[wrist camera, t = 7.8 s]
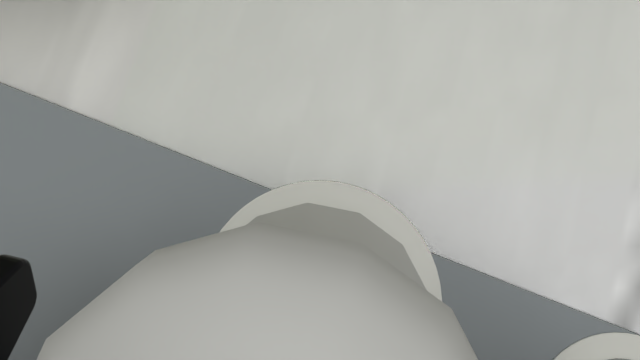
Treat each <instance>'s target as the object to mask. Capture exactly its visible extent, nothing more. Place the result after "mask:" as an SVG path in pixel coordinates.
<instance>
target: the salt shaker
mask: <svg viewBox="0 0 640 360" xmlns="http://www.w3.org/2000/svg"><path fill="white" fill-rule="evenodd" d="M37 360H478V358H477V356H476V355H475V353H474V351H473V349H472V347H471V345H470V343H469V341H468V339H467V337H466V335H465V333H464V332H463V330H462V328H461V326H460V324H459V322H458V320H457V318H456V316H455V314H454V312H453V310H452V309H451V308H450V307H449V306H447V305H446V304H445V303H443V302H442V301H440V300H439V299H438V298H436V297H435V296H434V295H432V294H431V293H430V292H428V291H427V290H426V288H425V286H424V284H423V282H422V280H421V278H420V276H419V275H418V273H417V271H416V269H415V267H414V265H413V263H412V261H411V259H410V258H409V256H408V254H407V252H406V250H405V248H404V246H403V244H401V243H400V242H398V241H397V240H396V239H394V238H393V237H392V236H390V235H389V234H388V233H386V232H385V231H384V230H382V229H381V228H380V227H378V226H377V225H375V224H374V223H373V222H371V221H370V220H369V219H367V218H366V217H365V216H363V215H362V214H361V213H358V212H353V211H348V210H343V209H338V208H333V207H328V206H323V205H318V204H313V203H308V202H307V203H303V204H300V205H296V206H292V207H289V208H285V209H281V210H278V211H274V212H270V213H267V214H263V215H259V216H257V217H255V218H254V219H253V220H252V221H251V222H249V223H248V224H247V225H245V226H241V227H238V228H234V229H230V230H227V231H223V232H219V233H216V234H212V235H209V236H205V237H201V238H198V239H194V240H191V241H187V242H183V243H180V244H176V245H172V246H169V247H165V248H162V249H158V250H155V251H154V252H152V253H151V254H150V255H148V256H147V257H146V258H144V259H143V260H142V261H140V262H139V263H138V264H136V265H135V266H134V267H133V268H131V269H130V270H129V271H128V272H127V273H125V274H124V275H123V276H122V277H121V278H119V279H118V280H117V281H116V282H114V283H113V284H112V285H111V286H110V287H108V288H107V289H106V290H105V291H104V292H102V293H101V294H100V295H99V296H97V297H96V298H95V299H94V300H93V301H91V302H90V303H89V304H88V305H87V306H85V307H84V308H83V309H82V310H81V311H79V312H78V313H77V314H76V315H74V316H73V317H72V318H71V319H70V320H68V321H67V322H66V323H65V324H64V325H62V326H61V327H60V328H59V329H57V330H56V331H55V332H54V333H53V334H51V335H50V336H49V337H48V338H47V339H46V340H45V342H44V344H43V347H42V349H41V351H40V353H39V355H38V358H37Z"/></svg>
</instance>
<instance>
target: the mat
mask: <svg viewBox="0 0 640 360" xmlns="http://www.w3.org/2000/svg"><path fill="white" fill-rule="evenodd" d="M307 202H308V203H313V204H318V205H323V206H328V207H333V208H338V209H343V210H348V211H353V212H358V213H361V214H362V215H363V216H365V217H366V218H367V219H369V220H370V221H371V222H373V223H374V224H375V225H377V226H378V227H380V228H381V229H382V230H384V231H385V232H386V233H388V234H389V235H390V236H392V237H393V238H394V239H396V240H397V241H398V242H400V243H401V244H403V246H404V248H405V250H406V252H407V254H408V256H409V258H410V259H411V261H412V263H413V265H414V267H415V269H416V271H417V273H418V275H419V276H420V278H421V280H422V282H423V284H424V286H425V288H426V290H427V291H428V292H430V293H431V294H432V295H434V296H435V297H436V298H438V299H439V300H440V301H442V302H443V303H445V304H446V305H447V306H449V307H450V308H451V309H452V310H453V312H454V314H455V316H456V318H457V320H458V322H459V324H460V326H461V328H462V330H463V332H464V333H465V335H466V337H467V339H468V341H469V343H470V345H471V347H472V349H473V351H474V353H475V355H476V356H477V358H478V360H607V359H617V358H619V359H630V360H640V335H638V334H636V333H633V332H631V331H628V330H626V329H623V328H621V327H618V326H616V325H613V324H611V323H608V322H606V321H603V320H600V319H598V318H595V317H593V316H590V315H588V314H585V313H583V312H580V311H578V310H575V309H573V308H570V307H567V306H565V305H562V304H560V303H557V302H555V301H552V300H550V299H547V298H545V297H542V296H540V295H537V294H535V293H532V292H529V291H527V290H524V289H522V288H519V287H517V286H514V285H512V284H509V283H507V282H504V281H502V280H499V279H497V278H494V277H491V276H489V275H486V274H484V273H481V272H479V271H476V270H474V269H471V268H469V267H466V266H464V265H461V264H458V263H456V262H453V261H451V260H448V259H446V258H443V257H441V256H438V255H436V254H433V253H431V252H430V251H429V249H428V247H427V245H426V243H425V241H424V239H423V238H422V236H421V235H420V234H419V232H418V231H417V229H416V228H415V227H414V225H413V224H412V223H411V222H410V221H409V220H408V219H407V218H406V217H405V216H404V214H402V213H401V212H400V211H399V210H398V209H396V208H395V207H394V206H393V205H392V204H390V203H389V202H387V201H386V200H384V199H382V198H381V197H379V196H378V195H376V194H374V193H371V192H369V191H367V190H365V189H363V188H360V187H356V186H353V185H350V184H346V183H341V182H335V181H321V180H315V181H303V182H297V183H292V184H288V185H284V186H281V187H279V188H276V189H273V190H271V189H268V188H266V187H263V186H261V185H258V184H256V183H253V182H251V181H248V180H246V179H243V178H240V177H238V176H235V175H233V174H230V173H228V172H225V171H223V170H220V169H218V168H215V167H213V166H210V165H208V164H205V163H202V162H200V161H197V160H195V159H192V158H190V157H187V156H185V155H182V154H180V153H177V152H175V151H172V150H170V149H167V148H164V147H162V146H159V145H157V144H154V143H152V142H149V141H147V140H144V139H142V138H139V137H137V136H134V135H131V134H129V133H126V132H124V131H121V130H119V129H116V128H114V127H111V126H109V125H106V124H104V123H101V122H99V121H96V120H93V119H91V118H88V117H86V116H83V115H81V114H78V113H76V112H73V111H71V110H68V109H66V108H63V107H61V106H58V105H55V104H53V103H50V102H48V101H45V100H43V99H40V98H38V97H35V96H33V95H30V94H28V93H25V92H23V91H20V90H17V89H15V88H12V87H10V86H7V85H5V84H2V83H0V255H3V254H6V255H11V256H15V257H19V258H23V259H26V260H28V261H29V263H30V264H31V268H32V272H33V277H34V281H35V286H36V290H37V299H36V303H35V306H34V309H33V311H32V313H31V315H30V317H29V319H28V321H27V323H26V325H25V327H24V329H23V331H22V333H21V335H20V337H19V339H18V341H17V343H16V345H15V347H14V349H13V351H12V352H11V354H10V356H9V358H8V360H37V358H38V355H39V353H40V351H41V349H42V347H43V344H44V342H45V340H46V339H47V338H48V337H49V336H50V335H51V334H53V333H54V332H55V331H56V330H57V329H59V328H60V327H61V326H62V325H64V324H65V323H66V322H67V321H68V320H70V319H71V318H72V317H73V316H74V315H76V314H77V313H78V312H79V311H81V310H82V309H83V308H84V307H85V306H87V305H88V304H89V303H90V302H91V301H93V300H94V299H95V298H96V297H97V296H99V295H100V294H101V293H102V292H104V291H105V290H106V289H107V288H108V287H110V286H111V285H112V284H113V283H114V282H116V281H117V280H118V279H119V278H121V277H122V276H123V275H124V274H125V273H127V272H128V271H129V270H130V269H131V268H133V267H134V266H135V265H136V264H138V263H139V262H140V261H142V260H143V259H144V258H146V257H147V256H148V255H150V254H151V253H152V252H154V251H155V250H158V249H162V248H165V247H169V246H172V245H176V244H180V243H183V242H187V241H191V240H194V239H198V238H201V237H205V236H209V235H212V234H216V233H219V232H223V231H227V230H230V229H234V228H238V227H241V226H245V225H247V224H248V223H249V222H251V221H252V220H253V219H254V218H255V217H257V216H259V215H263V214H267V213H270V212H274V211H278V210H281V209H285V208H289V207H292V206H296V205H300V204H303V203H307Z"/></svg>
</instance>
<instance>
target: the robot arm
mask: <svg viewBox="0 0 640 360" xmlns="http://www.w3.org/2000/svg"><path fill="white" fill-rule="evenodd" d="M36 299H37V290H36V286H35V281H34V277H33V272H32V268H31V264H30V263H29V261H28V260H26V259H23V258H19V257H15V256H11V255H6V254H3V255H0V360H8V358H9V356H10V354H11V352H12V351H13V349H14V347H15V345H16V343H17V341H18V339H19V337H20V335H21V333H22V331H23V329H24V327H25V325H26V323H27V321H28V319H29V317H30V315H31V313H32V311H33V309H34V306H35V303H36Z"/></svg>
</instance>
